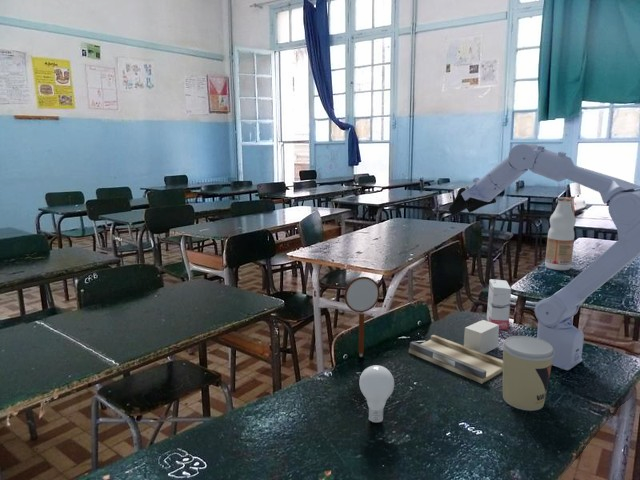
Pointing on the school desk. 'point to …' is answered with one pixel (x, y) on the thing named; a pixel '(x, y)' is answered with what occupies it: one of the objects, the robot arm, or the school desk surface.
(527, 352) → the cream lidded canister
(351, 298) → the magnifying glass
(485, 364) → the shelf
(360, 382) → the lightbulb
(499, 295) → the ink box
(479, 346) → the carton
